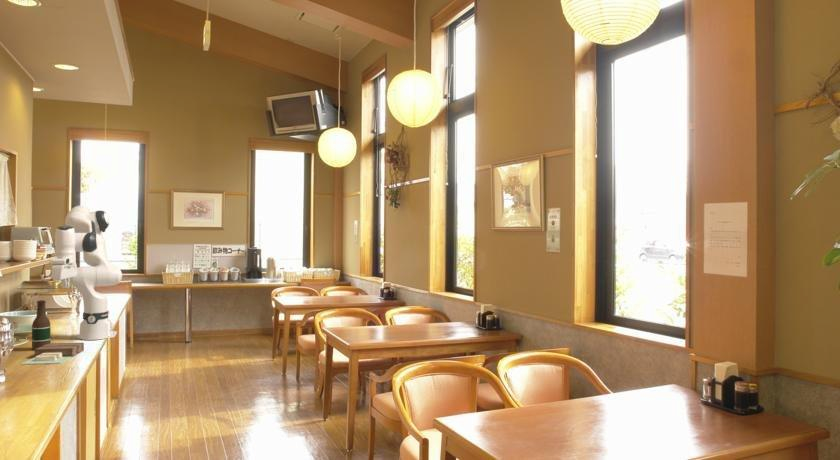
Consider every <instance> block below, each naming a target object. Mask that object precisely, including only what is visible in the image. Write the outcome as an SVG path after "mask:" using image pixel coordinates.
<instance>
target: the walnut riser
mask: <svg viewBox="0 0 840 460" xmlns="http://www.w3.org/2000/svg"><path fill="white" fill-rule="evenodd" d="M84 346H85V343H84V342H58V343H57V342H54V343H53V342H50V343H48V344H46V345H44V346H41V347H39V348H37V349H35V350H34V358H35V357H36V356H38V355H40V354H42V353H57V352H62V357H71V358H73V357H75V356H77V355H79V354H80V353H83V352H84V349H85V347H84Z"/></svg>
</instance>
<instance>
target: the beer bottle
mask: <svg viewBox="0 0 840 460" xmlns="http://www.w3.org/2000/svg"><path fill="white" fill-rule="evenodd" d="M46 302H47V301H46V300H43V299H42V300H37V301H36V304H37V306H36V309H37V310H36V317H35V318H34V320H33V322H32V325H31V348H32V350H33V351H35V349H37V348H39V347H41V346H44V345H46V344H48V343H51V321H50V319H49V318H48V317H47V312H46V311H47V310H46Z"/></svg>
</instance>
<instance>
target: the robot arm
mask: <svg viewBox="0 0 840 460" xmlns="http://www.w3.org/2000/svg"><path fill="white" fill-rule="evenodd" d="M109 225H110V218H109V215H108V214H107V212H105V210H96V211H90V210H89V209H88V207H86V206H85V205H76V206H74V207H72V208H71V209H70V210H69V211H68V213H67V214H66V217H65V221H64V225H63V226H57V227H56V229H55V233H54V239H53V247H54V248H55V250H54V256H53V257H52V258H51V259H50V265H51V278H52V280H53V281H60V283H61V288H62V289H67V288H69V285H71V286H72V287H73V288H75V289H76V290H77V291H78V292H79V293H80V295H81V297H82V301H83V312H82V321H81V322H80V323H79V332H78V333H79V335H77V336H76V339H80V340H84V341H93V340H94V341H97V340H104V339H111V338H115V337H116V336H117V334H118V331H117V330H113V325H114V324H113V322H112V321H111V320H110V319H109V314H110V310H108V299H107V296H106V295H105V294H103V293H101V292H98V291H96V290H95V288H96V287H110V286H115V285H119V284H120V282H121V281H122V278H123V272H122V270H121V268H119V267H118V266H117V265H114V264H112V263H111V262H110V260H109V259H108V257H107V251H106V242H105V238H104V235H103V234H102V233H105V232H106V230H107V228H108V227H109ZM77 253H83V254H82V255H83V256H82V258H83V261H84V262H85V263H86V265H88V266H79V267H78V264H77V258H76V257H77Z"/></svg>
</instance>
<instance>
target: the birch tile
mask: <svg viewBox="0 0 840 460" xmlns="http://www.w3.org/2000/svg"><path fill="white" fill-rule="evenodd" d="M61 357H62V352H57V353H42V354H40V355H38V356H36V357H35V356H34V358H35V361H55V360H57V359H59V358H61Z"/></svg>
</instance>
